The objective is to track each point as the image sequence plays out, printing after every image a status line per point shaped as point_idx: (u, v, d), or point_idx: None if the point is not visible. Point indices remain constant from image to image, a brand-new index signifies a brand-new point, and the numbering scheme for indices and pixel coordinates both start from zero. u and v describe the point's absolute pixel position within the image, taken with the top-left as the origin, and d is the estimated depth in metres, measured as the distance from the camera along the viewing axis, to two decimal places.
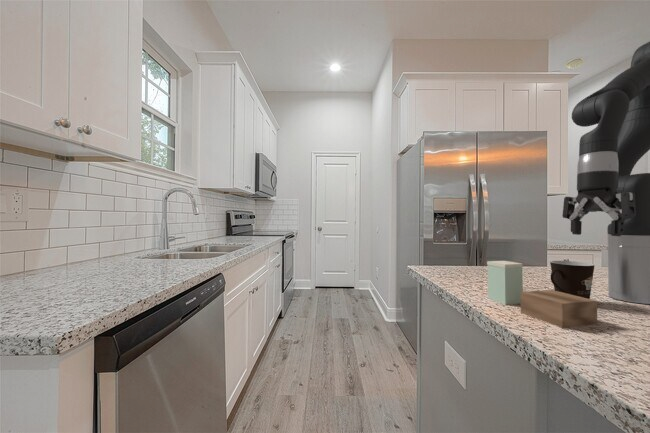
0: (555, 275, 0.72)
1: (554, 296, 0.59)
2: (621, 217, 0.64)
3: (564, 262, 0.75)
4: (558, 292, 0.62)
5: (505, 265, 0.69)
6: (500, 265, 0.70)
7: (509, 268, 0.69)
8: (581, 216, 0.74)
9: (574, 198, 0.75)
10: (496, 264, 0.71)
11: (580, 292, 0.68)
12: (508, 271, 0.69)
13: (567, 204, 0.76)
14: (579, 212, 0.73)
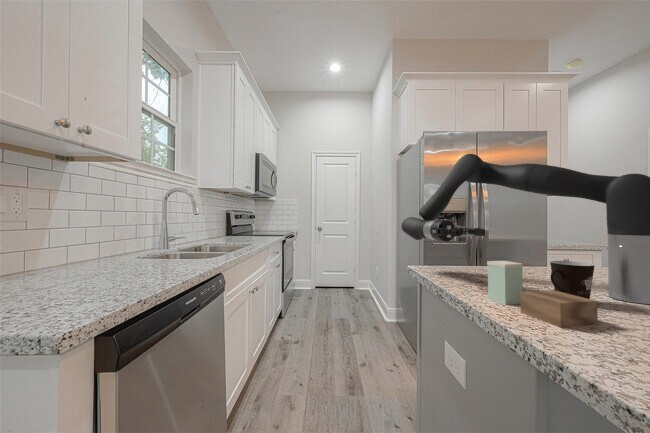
0: (555, 275, 0.72)
1: (554, 296, 0.59)
2: (446, 234, 0.86)
3: (564, 262, 0.75)
4: (559, 292, 0.62)
5: (505, 265, 0.69)
6: (500, 265, 0.70)
7: (509, 267, 0.69)
8: (470, 229, 0.89)
9: (462, 232, 0.94)
10: (496, 264, 0.71)
11: (580, 292, 0.68)
12: (508, 271, 0.69)
13: (469, 234, 0.92)
14: (466, 235, 0.90)
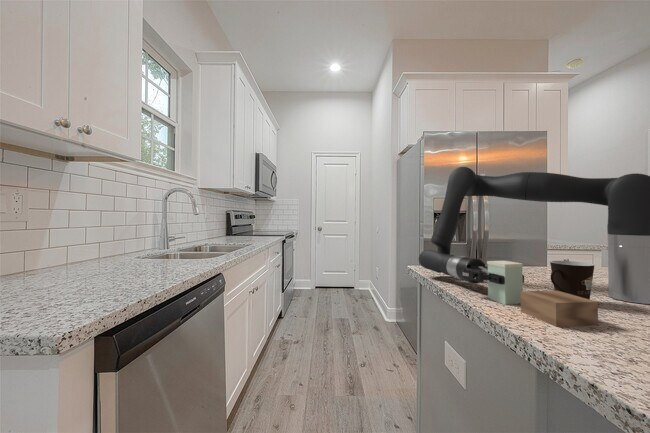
0: (555, 275, 0.72)
1: (553, 296, 0.59)
2: None
3: (564, 262, 0.75)
4: (562, 293, 0.62)
5: (505, 265, 0.69)
6: (500, 265, 0.70)
7: (509, 267, 0.69)
8: None
9: None
10: (496, 264, 0.71)
11: (580, 292, 0.68)
12: (508, 271, 0.69)
13: None
14: None
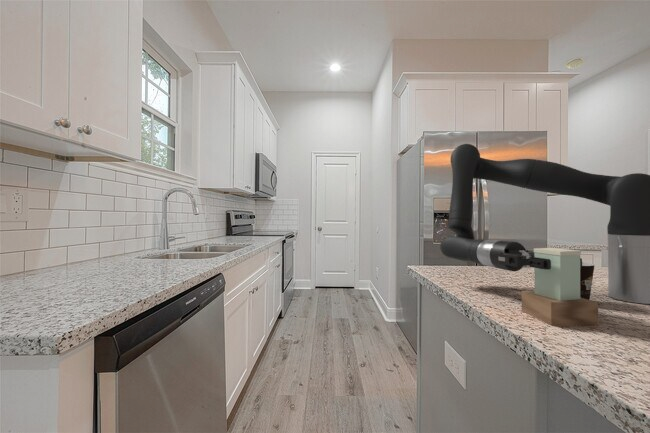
0: None
1: None
2: (524, 264, 0.61)
3: None
4: None
5: (560, 252, 0.56)
6: (553, 252, 0.57)
7: (565, 255, 0.56)
8: None
9: None
10: (547, 251, 0.58)
11: (580, 292, 0.68)
12: (564, 259, 0.56)
13: None
14: None
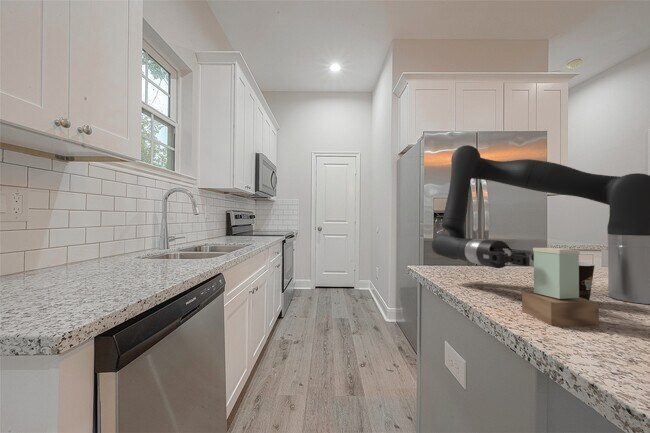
0: None
1: None
2: (506, 261, 0.65)
3: None
4: None
5: (560, 250, 0.57)
6: (552, 251, 0.58)
7: (564, 254, 0.57)
8: None
9: None
10: (546, 250, 0.59)
11: (580, 292, 0.68)
12: (563, 258, 0.57)
13: None
14: None
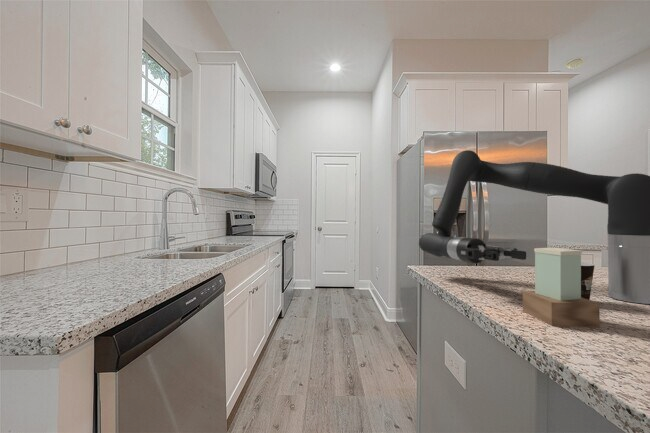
0: None
1: None
2: (479, 257, 0.73)
3: None
4: None
5: (561, 252, 0.56)
6: (553, 252, 0.57)
7: (565, 255, 0.56)
8: (507, 250, 0.76)
9: None
10: (548, 251, 0.58)
11: None
12: (565, 259, 0.56)
13: None
14: (501, 257, 0.76)
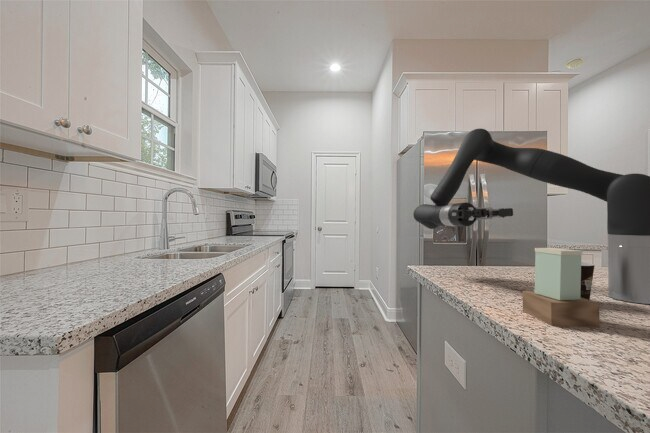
0: None
1: None
2: (469, 215, 0.77)
3: None
4: None
5: (561, 252, 0.56)
6: (554, 252, 0.57)
7: (566, 255, 0.56)
8: (495, 210, 0.80)
9: None
10: (548, 251, 0.58)
11: None
12: (565, 259, 0.56)
13: None
14: (490, 217, 0.80)
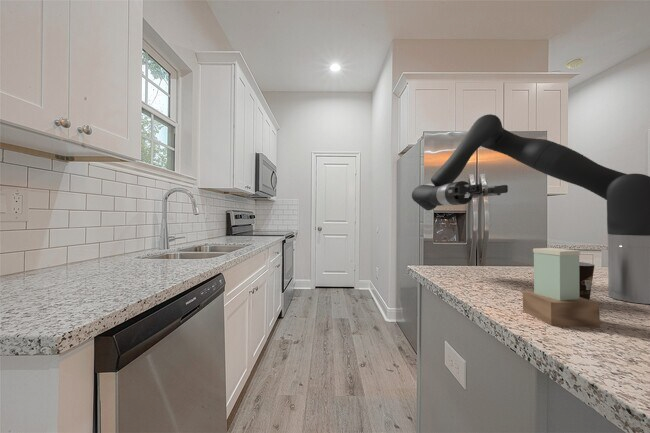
0: None
1: None
2: (464, 192, 0.79)
3: None
4: None
5: (560, 252, 0.56)
6: (553, 252, 0.57)
7: (564, 255, 0.57)
8: (490, 187, 0.81)
9: None
10: (547, 251, 0.59)
11: (580, 292, 0.68)
12: (564, 259, 0.57)
13: (488, 195, 0.85)
14: (486, 194, 0.82)
